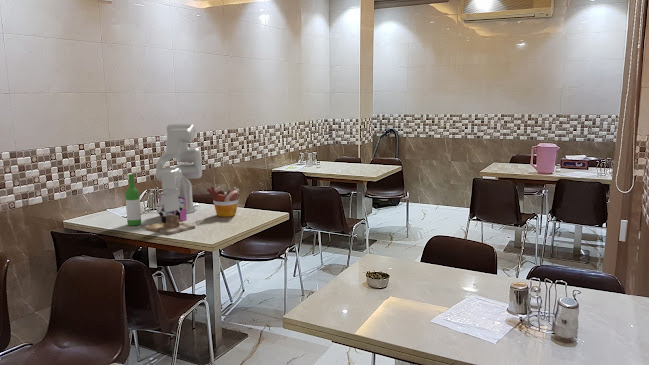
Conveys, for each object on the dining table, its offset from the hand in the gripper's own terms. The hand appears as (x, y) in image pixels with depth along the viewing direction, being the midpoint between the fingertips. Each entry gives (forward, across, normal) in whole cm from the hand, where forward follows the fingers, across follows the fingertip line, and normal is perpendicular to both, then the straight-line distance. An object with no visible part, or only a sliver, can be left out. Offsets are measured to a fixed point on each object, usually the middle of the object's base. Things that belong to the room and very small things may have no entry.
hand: (171, 221), depth 288 cm
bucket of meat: (+5, -41, 0) cm, 41 cm away
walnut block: (+3, 0, 0) cm, 3 cm away
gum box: (+5, -17, -22) cm, 28 cm away
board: (+4, 0, +6) cm, 7 cm away
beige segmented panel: (+4, 0, -6) cm, 7 cm away
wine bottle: (+5, +7, -26) cm, 27 cm away
